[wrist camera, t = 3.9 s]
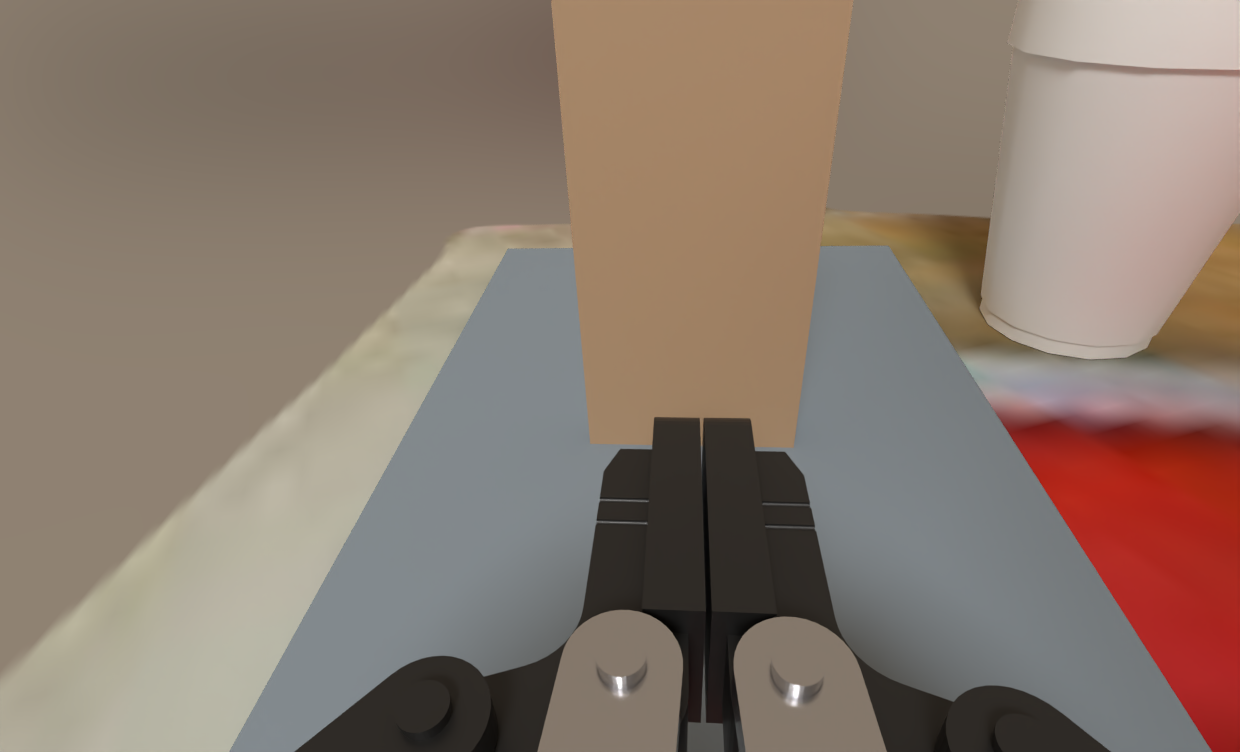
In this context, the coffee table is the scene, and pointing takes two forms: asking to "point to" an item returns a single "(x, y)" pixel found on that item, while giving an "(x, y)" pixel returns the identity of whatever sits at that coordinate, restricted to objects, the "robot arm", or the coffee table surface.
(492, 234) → the coffee table surface
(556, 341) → the mat
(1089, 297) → the foam cup
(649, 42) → the tile
